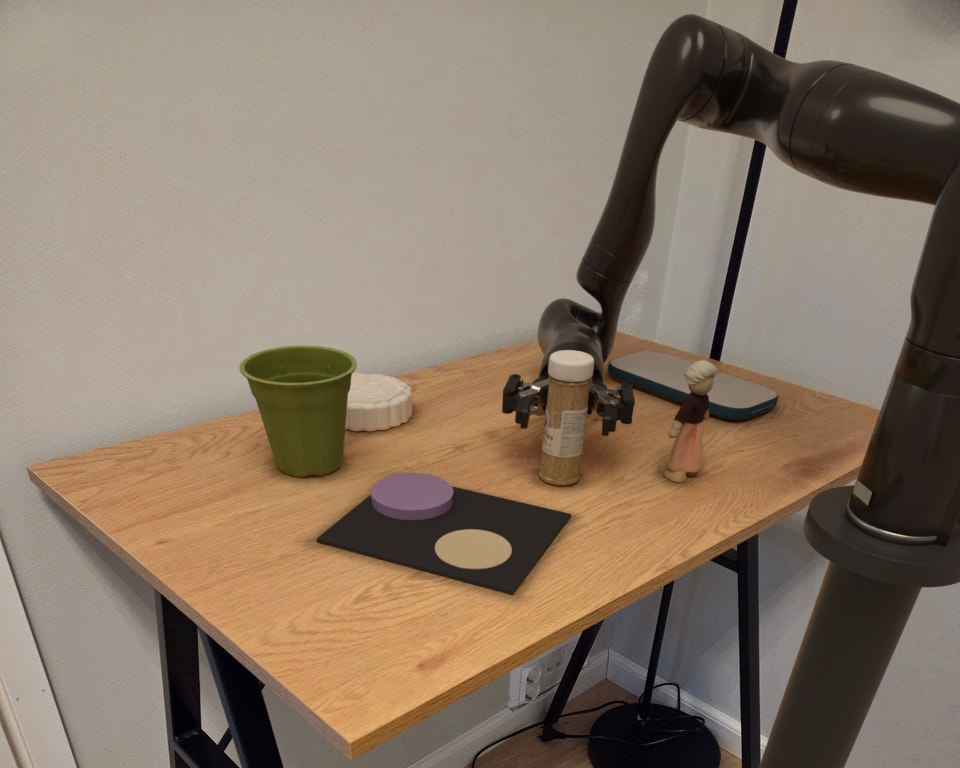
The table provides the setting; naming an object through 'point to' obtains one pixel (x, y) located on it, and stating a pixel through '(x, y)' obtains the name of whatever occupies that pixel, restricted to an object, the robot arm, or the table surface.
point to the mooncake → (377, 402)
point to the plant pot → (302, 404)
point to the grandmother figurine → (691, 423)
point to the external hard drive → (669, 381)
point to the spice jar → (565, 416)
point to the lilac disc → (412, 496)
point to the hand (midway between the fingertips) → (565, 423)
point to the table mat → (456, 538)
